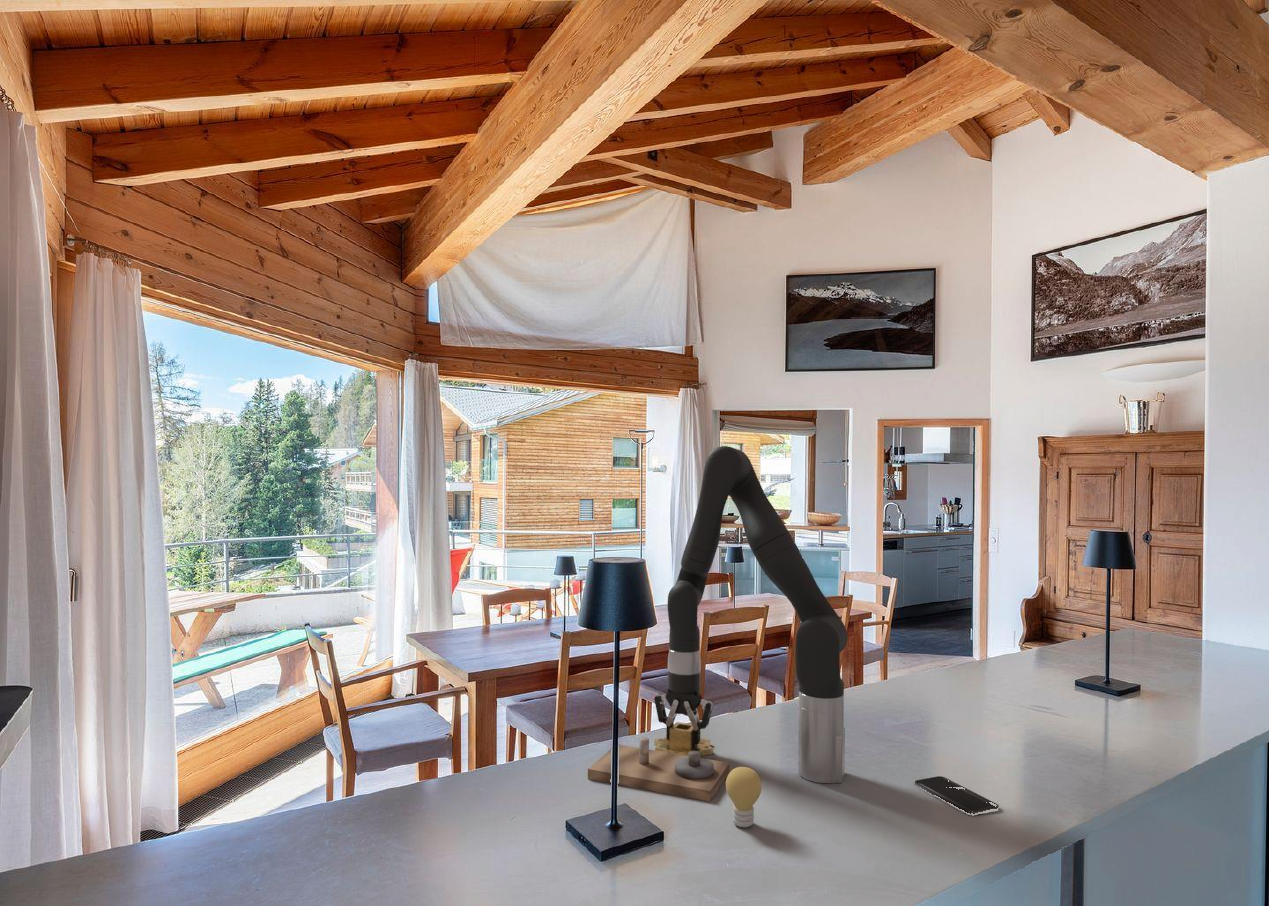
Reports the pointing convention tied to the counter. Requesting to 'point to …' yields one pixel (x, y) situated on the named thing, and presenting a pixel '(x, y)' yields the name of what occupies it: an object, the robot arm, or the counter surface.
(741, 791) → the light bulb
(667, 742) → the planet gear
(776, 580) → the robot arm
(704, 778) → the wooden peg board
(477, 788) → the counter surface
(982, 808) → the phone
